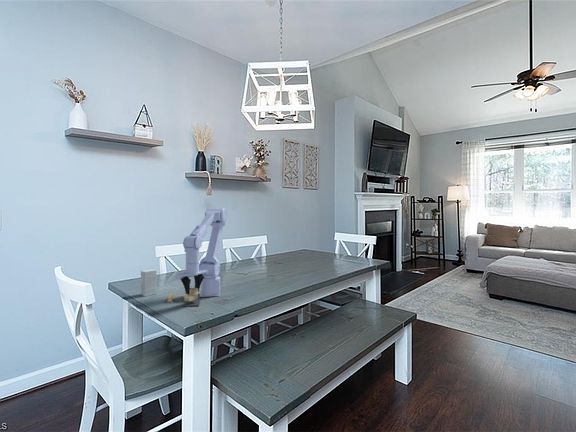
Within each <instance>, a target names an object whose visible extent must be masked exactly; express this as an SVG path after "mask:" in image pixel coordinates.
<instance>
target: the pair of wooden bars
mask: <svg viewBox="0 0 576 432" xmlns="http://www.w3.org/2000/svg"><path fill="white" fill-rule="evenodd" d="M174 299H175V293H170V294H169V295H168V297H167V303H172V302H173V300H174ZM183 300H184V301H183V302H186V301H188V300H186V298H185V295H184V297H183Z"/></svg>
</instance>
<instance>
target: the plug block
mask: <svg viewBox="0 0 576 432" xmlns="http://www.w3.org/2000/svg"><path fill="white" fill-rule="evenodd" d="M184 293H185V294H184V296H185V298H186V300H188V301H194V300H199V292H198V288H195V286H192V287H191V286H190V292H189V294H186V292H185V291H184Z"/></svg>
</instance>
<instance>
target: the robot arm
mask: <svg viewBox="0 0 576 432" xmlns="http://www.w3.org/2000/svg"><path fill="white" fill-rule="evenodd" d="M227 217H228V212H227V210H226V208H224V207H223V208H216V207H215V208H214V207H212V208H210V207H208V208H206V209H205V211H204V217H203V219H202V221H201V223H200V224H197V225H196V226H195V228H194V229H193V230H192V232H191V233H190V235H187V236H185V237H184V239H183V242H182V246H183V247H184V249H183V250H184V253H185V271H184V272H181V273H176V274H175V279H176V280H180V281H181V283H182V285H183V287H184V290H185V291H184V293H185V292H186V294H189V292H190V288H191V281H192V279H190V278H191V277H192V278H193V279H194V287H195V288H198V293H199V292H200V293H199V295H198V298H200V297H202V298H205V297H206V298H207V297H220V294H221V290H222V289H221V276H219V274H220V271H221V262H220V260H218V258H217V256H218V251H219V246H220V242H221V238H222V237H221V236H222V232H223V228H224V226H226V223H227V219H228V218H227ZM209 227H211V228H212V229H211V232H210V237H209V241H208V245H207V246H208V247H207V250H206V255H205V257H202V258H201V259H200V248H202V244H203V240H204V238H205V236H206V235H207V233H208V228H209Z"/></svg>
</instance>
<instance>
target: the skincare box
mask: <svg viewBox="0 0 576 432" xmlns="http://www.w3.org/2000/svg"><path fill="white" fill-rule="evenodd" d="M157 282H158V281H157V269H154V268H150V269H146V270H145V269H144V270H141V271H140V295H141V296H143V297H148V296H152V295H157V294H158V292H157V290H158V289H157Z"/></svg>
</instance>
